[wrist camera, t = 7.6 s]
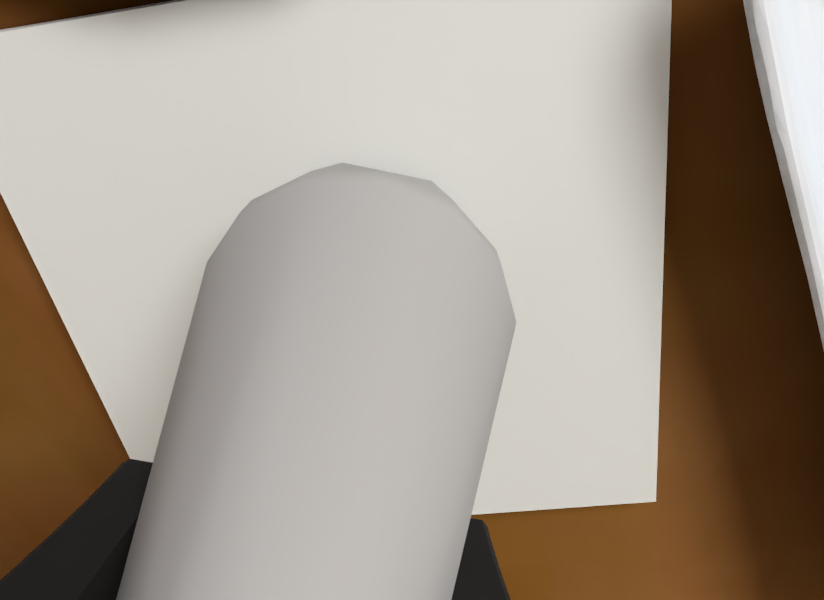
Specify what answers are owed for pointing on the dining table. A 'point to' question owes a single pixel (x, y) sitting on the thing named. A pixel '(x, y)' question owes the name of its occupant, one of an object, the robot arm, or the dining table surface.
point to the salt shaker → (329, 400)
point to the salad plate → (795, 117)
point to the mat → (373, 148)
